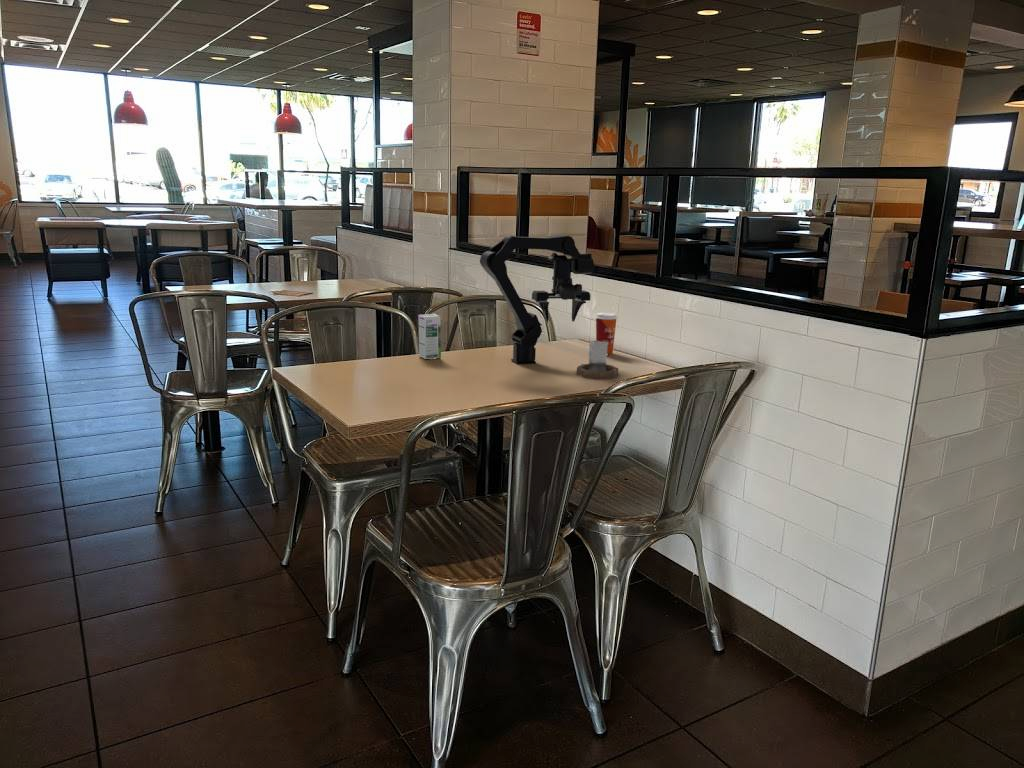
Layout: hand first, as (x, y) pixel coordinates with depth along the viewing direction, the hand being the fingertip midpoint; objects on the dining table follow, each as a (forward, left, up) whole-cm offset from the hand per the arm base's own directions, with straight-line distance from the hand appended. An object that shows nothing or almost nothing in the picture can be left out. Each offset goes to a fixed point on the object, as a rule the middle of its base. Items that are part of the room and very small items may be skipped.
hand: (560, 321), depth 253 cm
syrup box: (-41, +14, -13) cm, 45 cm away
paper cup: (+20, +6, -13) cm, 25 cm away
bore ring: (+3, -22, -13) cm, 26 cm away
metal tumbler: (+3, -22, -13) cm, 26 cm away
